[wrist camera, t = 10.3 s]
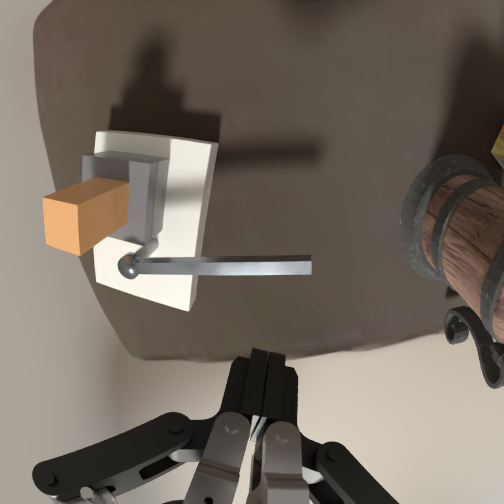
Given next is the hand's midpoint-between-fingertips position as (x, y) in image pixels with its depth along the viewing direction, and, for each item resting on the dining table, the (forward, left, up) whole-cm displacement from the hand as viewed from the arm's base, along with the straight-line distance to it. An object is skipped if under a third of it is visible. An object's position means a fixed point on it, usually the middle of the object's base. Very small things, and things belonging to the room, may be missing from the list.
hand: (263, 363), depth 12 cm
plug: (-1, -16, -18) cm, 24 cm away
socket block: (+3, -15, -21) cm, 26 cm away
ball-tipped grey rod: (+3, -6, -13) cm, 14 cm away
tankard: (-3, +23, -21) cm, 31 cm away
